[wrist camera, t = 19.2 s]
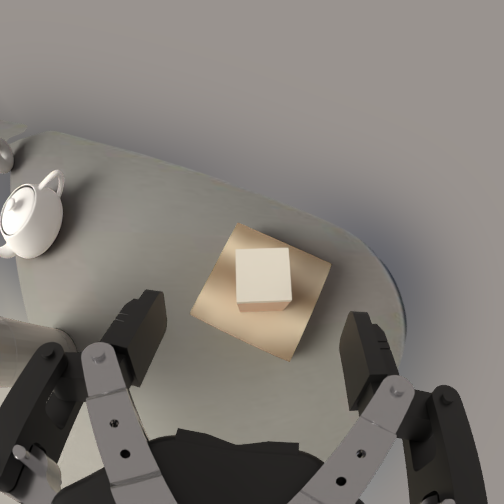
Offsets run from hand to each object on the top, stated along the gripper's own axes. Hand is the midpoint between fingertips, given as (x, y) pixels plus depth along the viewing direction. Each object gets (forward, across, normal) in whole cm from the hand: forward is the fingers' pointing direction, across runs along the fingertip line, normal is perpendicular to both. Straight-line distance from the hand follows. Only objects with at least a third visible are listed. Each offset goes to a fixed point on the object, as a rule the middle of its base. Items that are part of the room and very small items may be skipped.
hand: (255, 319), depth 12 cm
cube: (+19, 0, -12) cm, 22 cm away
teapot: (+28, -42, -11) cm, 52 cm away
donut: (+40, -64, 0) cm, 75 cm away
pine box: (+24, 0, -16) cm, 28 cm away
